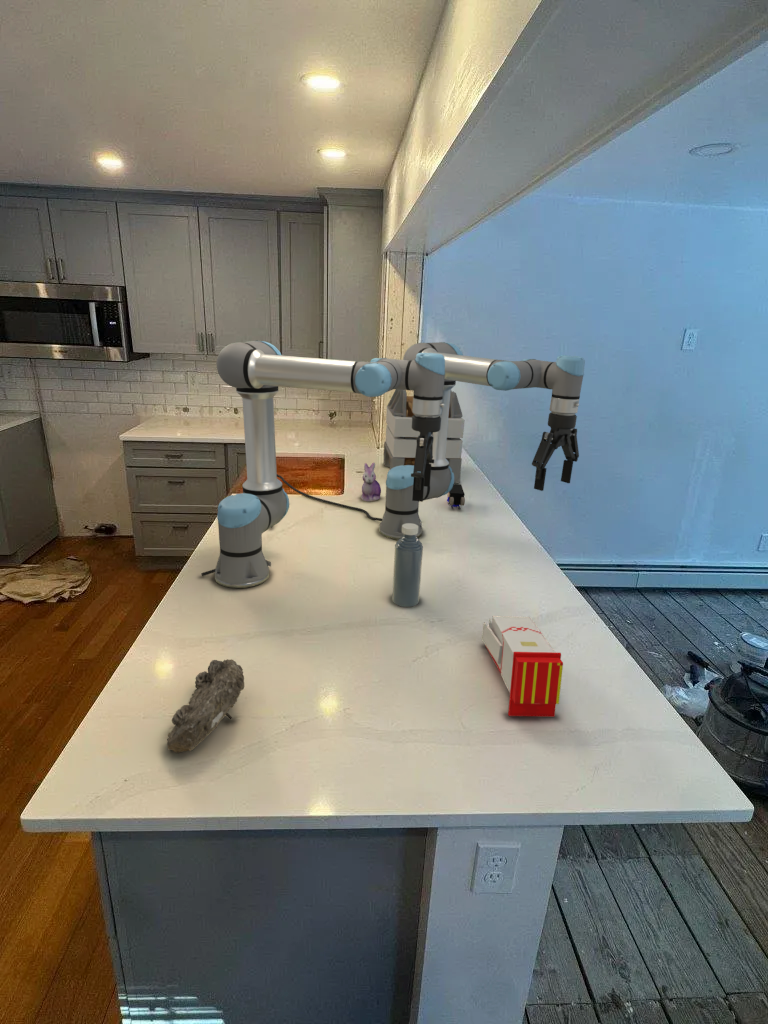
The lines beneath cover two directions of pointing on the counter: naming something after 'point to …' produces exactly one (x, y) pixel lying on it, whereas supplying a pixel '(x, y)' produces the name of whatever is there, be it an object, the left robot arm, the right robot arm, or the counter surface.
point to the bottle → (407, 571)
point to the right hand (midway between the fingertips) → (552, 485)
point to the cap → (410, 529)
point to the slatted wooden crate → (405, 438)
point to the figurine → (370, 484)
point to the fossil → (206, 705)
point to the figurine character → (456, 496)
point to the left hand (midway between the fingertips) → (421, 493)
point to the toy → (525, 665)
